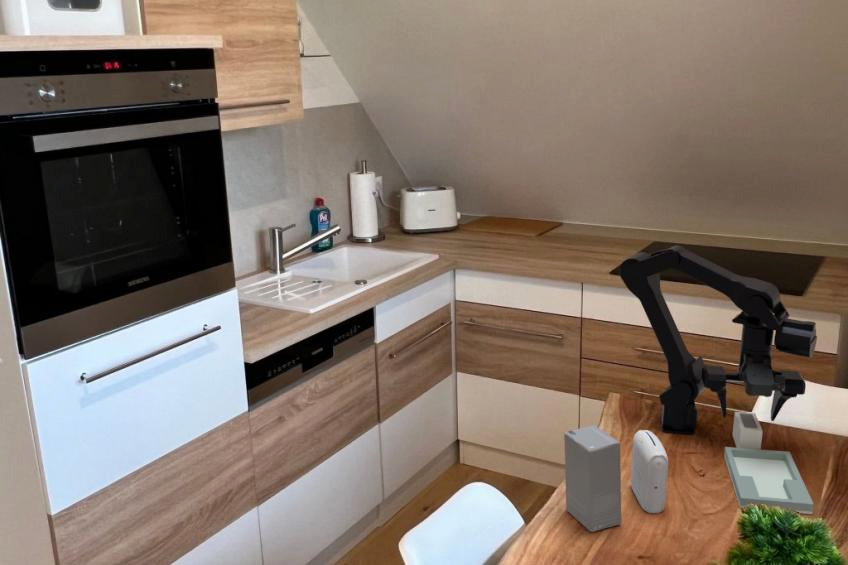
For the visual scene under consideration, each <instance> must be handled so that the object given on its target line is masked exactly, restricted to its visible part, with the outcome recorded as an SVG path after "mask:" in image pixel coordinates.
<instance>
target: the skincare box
mask: <svg viewBox="0 0 848 565" xmlns="http://www.w3.org/2000/svg"><path fill="white" fill-rule="evenodd" d="M563 435H564V437H563V438H564V439H563V440H564V467H565V470H564V471H565V507H566V508H565V510H566V511H567V512H568V513H569V514H570V515H571V516H572V517H573V518H574V519H575V520H577V521H578V522H579V523H580V524H581V525H582V526H583V527H585V528H586V529H587V531H589V532H590V533H594V532H597V531H600V530H603V529H606V528H607V529H608V528H611V527H615V526H619V525H621V523H622V480H621V477H622V476H621V475H622V474H621V473H622V472H621V470H622V469H621V468H622V467H621V442H620V441H618V440H617V439H616V438H614V437H613V436H611V435H609V433H607V432H606V431H604V430H603V429H602V428H600V427H599V426H597V425H596V424H592V425H588V426H584V427H581V428H577V429H573V430H568V431H565V432H563Z"/></svg>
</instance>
